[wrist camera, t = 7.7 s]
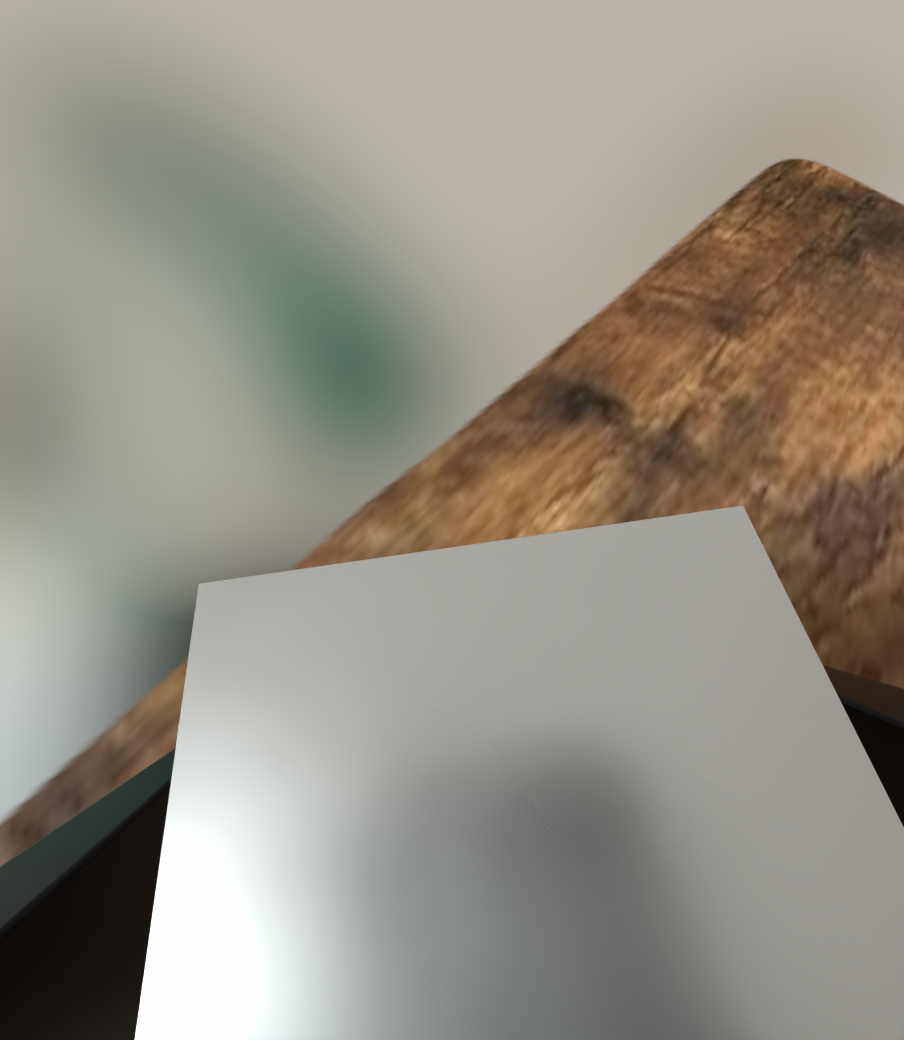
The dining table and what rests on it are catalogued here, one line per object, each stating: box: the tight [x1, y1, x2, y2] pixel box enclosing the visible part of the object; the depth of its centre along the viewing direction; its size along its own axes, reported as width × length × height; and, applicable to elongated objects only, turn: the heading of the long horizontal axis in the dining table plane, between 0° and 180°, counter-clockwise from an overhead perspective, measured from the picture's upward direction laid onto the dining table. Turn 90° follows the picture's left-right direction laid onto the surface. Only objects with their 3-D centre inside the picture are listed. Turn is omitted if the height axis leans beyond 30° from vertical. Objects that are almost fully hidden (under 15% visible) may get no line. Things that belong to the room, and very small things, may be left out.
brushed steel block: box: [135, 506, 904, 1040], centre depth 9 cm, size 4×5×13 cm
